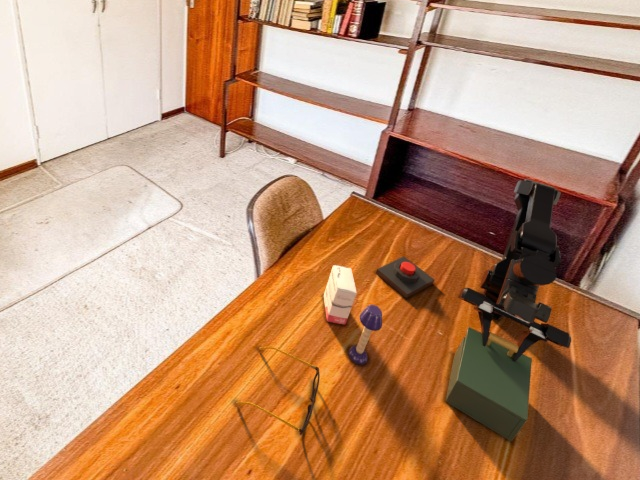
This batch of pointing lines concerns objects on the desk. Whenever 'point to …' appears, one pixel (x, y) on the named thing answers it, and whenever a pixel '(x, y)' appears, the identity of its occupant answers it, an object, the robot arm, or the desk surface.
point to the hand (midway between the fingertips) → (498, 353)
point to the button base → (404, 278)
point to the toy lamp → (366, 332)
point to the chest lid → (496, 372)
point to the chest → (480, 405)
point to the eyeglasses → (313, 399)
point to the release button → (407, 268)
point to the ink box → (339, 294)
